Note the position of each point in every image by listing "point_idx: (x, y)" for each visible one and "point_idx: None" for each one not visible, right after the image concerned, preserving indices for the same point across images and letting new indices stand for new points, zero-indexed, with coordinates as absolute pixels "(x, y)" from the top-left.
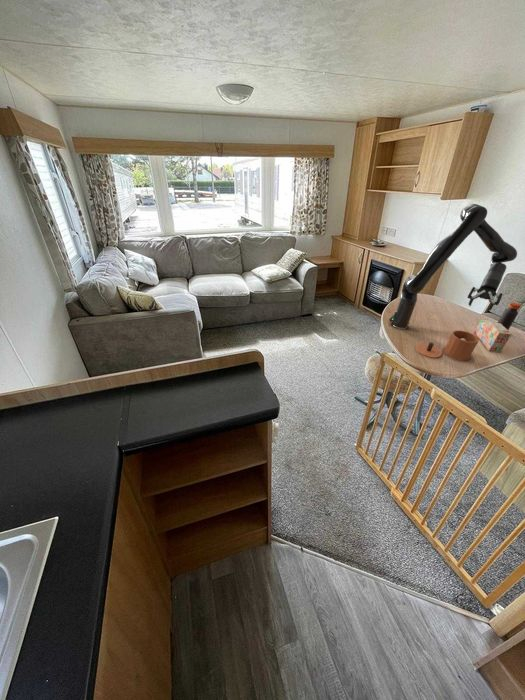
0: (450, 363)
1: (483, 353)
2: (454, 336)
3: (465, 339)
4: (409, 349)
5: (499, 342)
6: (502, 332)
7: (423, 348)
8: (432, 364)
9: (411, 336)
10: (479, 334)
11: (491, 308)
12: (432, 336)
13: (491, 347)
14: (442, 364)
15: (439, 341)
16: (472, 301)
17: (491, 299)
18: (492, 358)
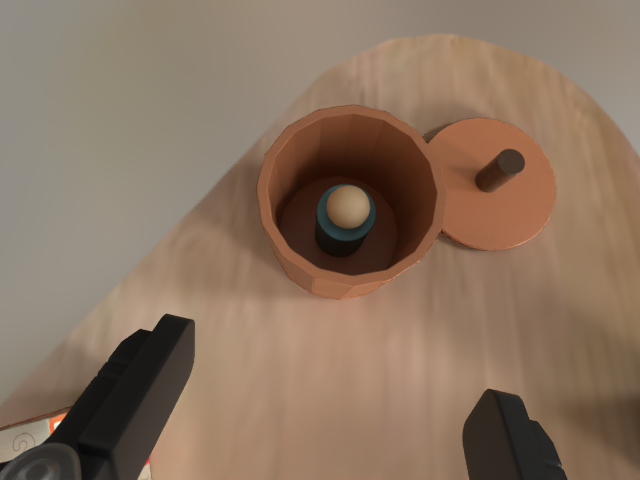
0: None
1: None
2: (429, 147)
3: (338, 202)
4: (572, 161)
5: (62, 410)
6: (14, 444)
7: (514, 185)
8: (449, 76)
9: (594, 326)
10: None
11: (127, 346)
12: (476, 402)
13: None
14: (405, 97)
15: (430, 351)
16: (519, 462)
17: None
18: (140, 292)
